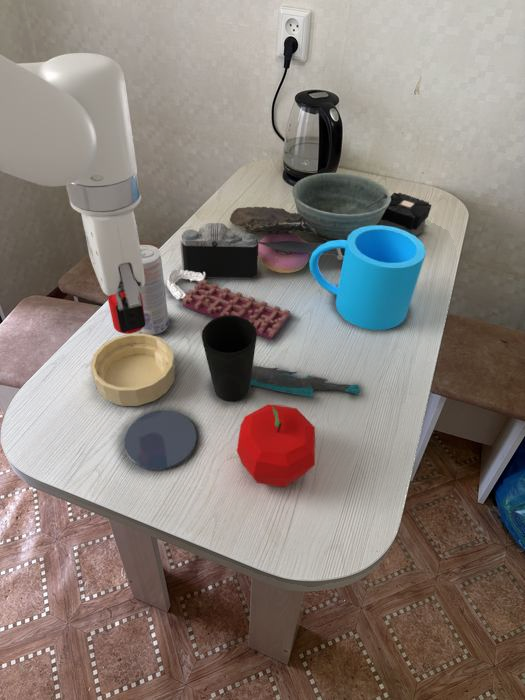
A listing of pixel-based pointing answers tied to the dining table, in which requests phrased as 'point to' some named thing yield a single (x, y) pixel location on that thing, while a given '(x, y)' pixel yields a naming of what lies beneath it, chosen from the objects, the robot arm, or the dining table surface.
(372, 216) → the bowl
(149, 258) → the beverage can
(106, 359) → the serving bowl
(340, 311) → the mug
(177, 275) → the false teeth
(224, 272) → the camera
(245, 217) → the rock
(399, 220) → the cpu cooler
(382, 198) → the screw
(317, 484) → the dining table surface
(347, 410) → the dining table surface
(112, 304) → the red cylinder
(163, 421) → the dark grey coaster
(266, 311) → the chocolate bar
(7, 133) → the robot arm
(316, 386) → the knife
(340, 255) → the knife
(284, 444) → the apple
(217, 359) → the cup
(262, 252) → the doughnut
